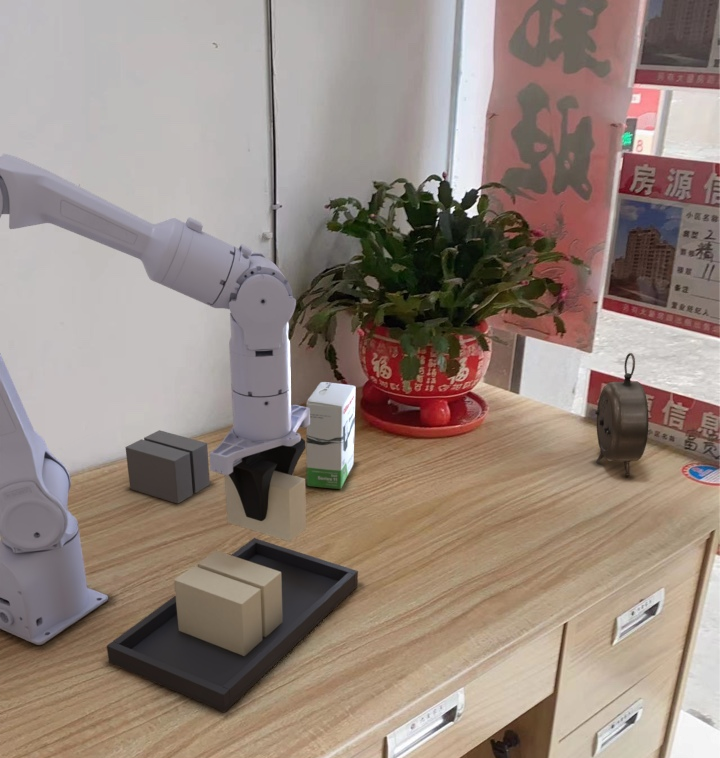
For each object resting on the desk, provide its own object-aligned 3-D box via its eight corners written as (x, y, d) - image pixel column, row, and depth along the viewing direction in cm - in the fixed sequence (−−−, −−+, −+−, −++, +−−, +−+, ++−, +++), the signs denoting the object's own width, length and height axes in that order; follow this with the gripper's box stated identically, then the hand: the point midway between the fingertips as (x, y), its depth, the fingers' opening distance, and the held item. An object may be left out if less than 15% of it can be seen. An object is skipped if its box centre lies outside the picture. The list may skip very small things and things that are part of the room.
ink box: (341, 490, 116) (342, 405, 110) (305, 486, 116) (304, 402, 111) (355, 463, 123) (356, 382, 118) (320, 459, 124) (320, 379, 118)
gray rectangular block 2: (195, 493, 114) (192, 451, 111) (148, 479, 117) (143, 437, 115) (210, 484, 116) (207, 443, 114) (163, 470, 120) (159, 430, 117)
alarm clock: (641, 481, 120) (663, 367, 112) (601, 480, 120) (621, 366, 112) (621, 448, 130) (640, 341, 122) (585, 447, 130) (601, 340, 122)
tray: (224, 712, 77) (223, 694, 76) (108, 662, 83) (106, 645, 82) (357, 586, 96) (358, 570, 95) (254, 552, 101) (254, 537, 100)
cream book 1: (244, 656, 84) (241, 604, 81) (178, 630, 87) (173, 579, 84) (262, 640, 86) (260, 588, 83) (197, 615, 89) (193, 565, 86)
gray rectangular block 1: (178, 504, 111) (174, 461, 109) (129, 489, 115) (125, 446, 112) (193, 494, 114) (189, 452, 111) (145, 480, 117) (141, 438, 114)
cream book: (290, 542, 90) (289, 490, 87) (226, 522, 93) (223, 471, 90) (306, 530, 92) (305, 478, 89) (243, 511, 95) (241, 461, 93)
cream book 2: (265, 637, 86) (263, 586, 83) (200, 613, 90) (196, 563, 87) (282, 622, 89) (281, 571, 86) (219, 599, 92) (215, 549, 89)
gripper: (251, 419, 78) (256, 551, 84) (335, 373, 89) (334, 492, 96) (188, 403, 81) (198, 532, 87) (277, 360, 92) (280, 477, 99)
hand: (265, 510), depth 92 cm, fingers closed on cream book, 3 cm apart
